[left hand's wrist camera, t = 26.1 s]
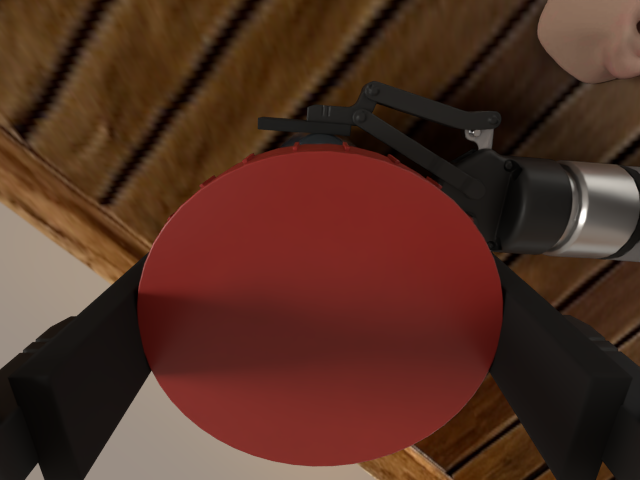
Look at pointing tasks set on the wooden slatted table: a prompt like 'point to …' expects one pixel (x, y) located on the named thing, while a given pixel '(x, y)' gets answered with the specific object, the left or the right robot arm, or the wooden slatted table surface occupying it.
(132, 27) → the wooden slatted table surface
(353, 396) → the lid
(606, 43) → the anatomical model
